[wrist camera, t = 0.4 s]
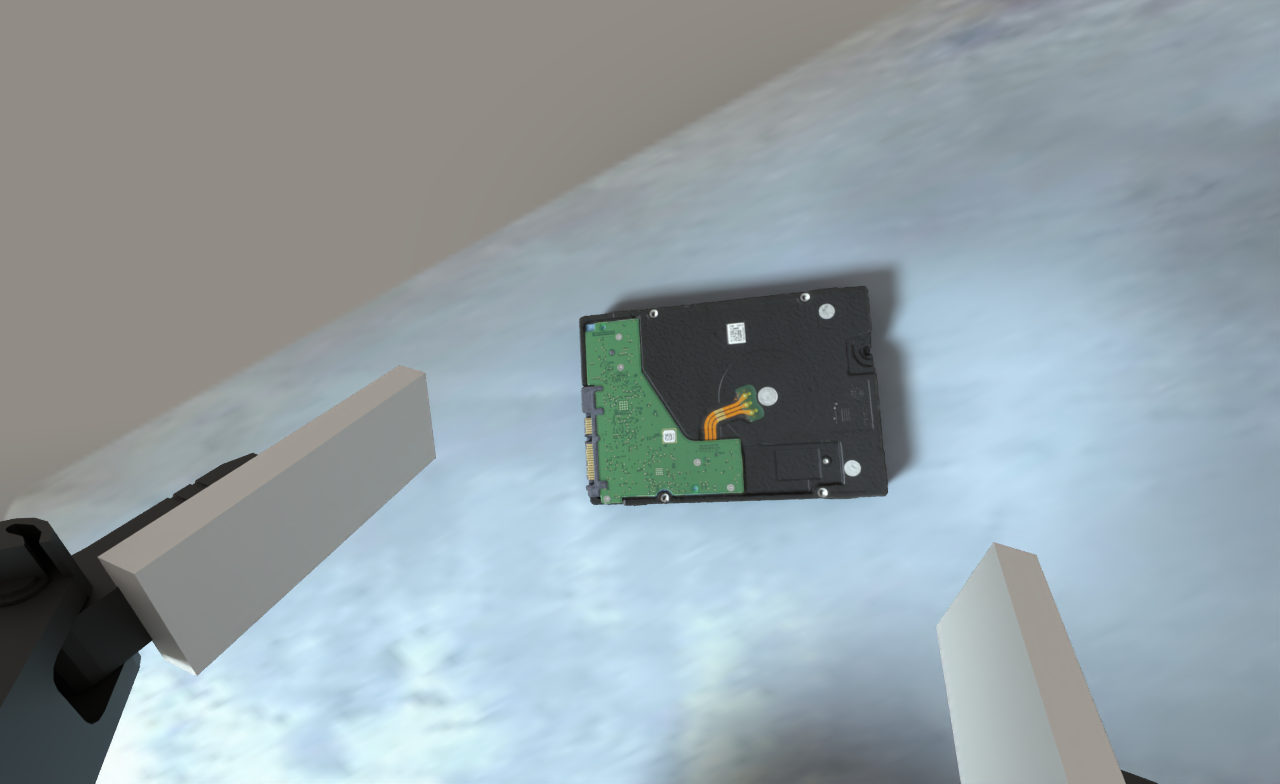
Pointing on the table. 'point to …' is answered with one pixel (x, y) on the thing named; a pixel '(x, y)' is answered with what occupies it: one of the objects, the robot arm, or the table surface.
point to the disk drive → (733, 401)
